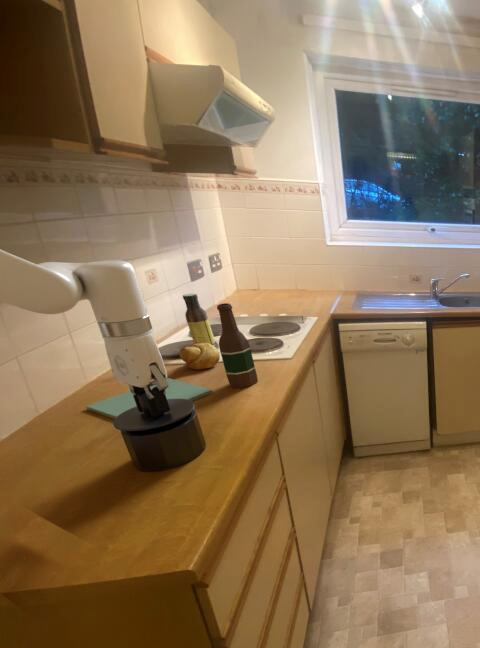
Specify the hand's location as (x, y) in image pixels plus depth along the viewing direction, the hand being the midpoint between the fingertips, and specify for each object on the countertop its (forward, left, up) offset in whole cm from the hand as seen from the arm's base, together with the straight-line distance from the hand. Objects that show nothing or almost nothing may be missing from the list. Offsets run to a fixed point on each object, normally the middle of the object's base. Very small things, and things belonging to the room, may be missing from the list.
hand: (154, 410), depth 90 cm
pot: (0, 0, -11) cm, 11 cm away
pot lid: (0, 0, -1) cm, 1 cm away
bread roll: (+37, +45, -11) cm, 59 cm away
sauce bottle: (+47, +60, -11) cm, 77 cm away
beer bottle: (+32, +20, -11) cm, 39 cm away
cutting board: (+14, +32, -11) cm, 37 cm away
